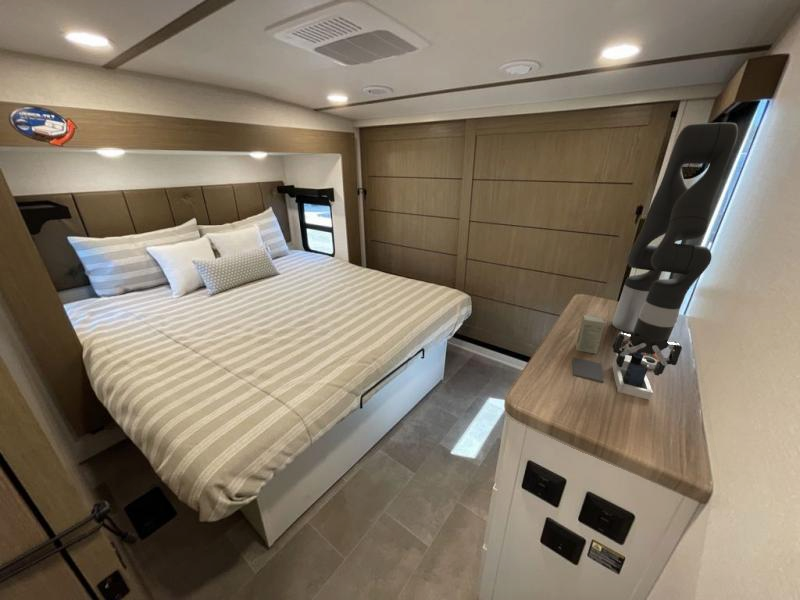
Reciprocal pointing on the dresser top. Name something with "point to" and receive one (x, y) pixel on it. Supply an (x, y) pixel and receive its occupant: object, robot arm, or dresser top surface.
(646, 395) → the dock
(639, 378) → the vaping device
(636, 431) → the dresser top surface
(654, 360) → the electronic device
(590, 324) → the skincare box
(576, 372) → the mat
